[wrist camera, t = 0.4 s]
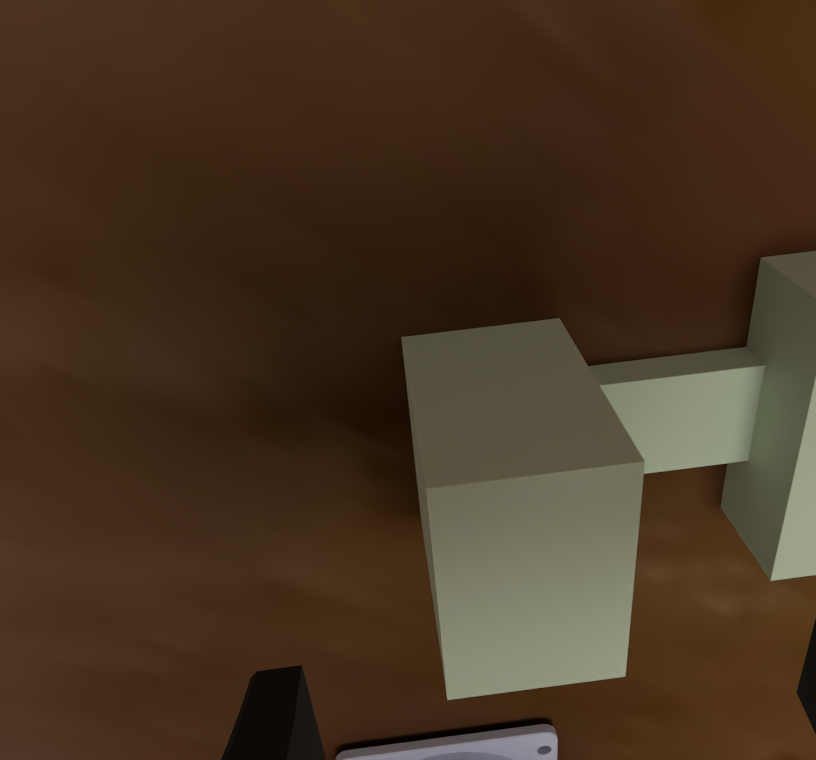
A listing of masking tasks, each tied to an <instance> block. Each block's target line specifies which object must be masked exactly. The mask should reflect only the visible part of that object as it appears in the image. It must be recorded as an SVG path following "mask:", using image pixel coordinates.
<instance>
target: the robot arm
mask: <svg viewBox="0 0 816 760" xmlns="http://www.w3.org/2000/svg"><path fill="white" fill-rule="evenodd" d="M797 694H798V696H799V698H800V701H801V703H802V705H803V707H804V709H805V711H806V714H807V716H808V718H809V720H810V722H811V725H812V727H813V729H814V731H815V733H816V620H815V624H814V628H813V631H812V635H811V639H810V643H809V647H808V651H807V655H806V658H805V662H804V666H803V670H802V674H801V678H800V682H799V685H798V689H797ZM557 749H558V738H557V735H556V731H555V728H554V727H553V726H551V725H548V724H538V725H531V726H523V727H516V728H508V729H501V730H493V731H486V732H478V733H471V734H463V735H456V736H448V737H441V738H433V739H426V740H418V741H411V742H403V743H396V744H388V745H381V746H373V747H366V748H358V749H351V750H345V751H342V752H341V753H339V754H338V755H337V756H336V760H557ZM221 760H325V754H324V751H323V747H322V743H321V739H320V735H319V731H318V727H317V723H316V719H315V715H314V711H313V707H312V703H311V699H310V695H309V691H308V687H307V684H306V680H305V676H304V672H303V668H302V665H301V666H293V667H286V668H279V669H271V670H264V671H257V672H256V673H255V674H254V675H253V676H252V677H251V679H250V682H249V685H248V688H247V691H246V694H245V698H244V700H243V703H242V706H241V709H240V712H239V715H238V718H237V720H236V723H235V726H234V728H233V731H232V734H231V736H230V739H229V742H228V744H227V747H226V749H225V752H224V754H223V757H222V759H221Z"/></svg>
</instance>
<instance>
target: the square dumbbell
mask: <svg viewBox="0 0 816 760" xmlns="http://www.w3.org/2000/svg"><path fill="white" fill-rule="evenodd" d="M401 340H402V349H403V358H404V367H405V376H406V385H407V395H408V404H409V413H410V422H411V431H412V441H413V450H414V459H415V468H416V477H417V486H418V496H419V505H420V514H421V522H422V529H423V536H424V543H425V550H426V556H427V563H428V570H429V577H430V584H431V591H432V598H433V605H434V611H435V618H436V625H437V632H438V639H439V646H440V653H441V659H442V666H443V673H444V680H445V687H446V694H447V700H451V699H459V698H467V697H474V696H482V695H489V694H497V693H504V692H512V691H520V690H527V689H535V688H542V687H550V686H557V685H565V684H573V683H580V682H588V681H595V680H603V679H610V678H618V677H625V676H626V665H627V653H628V642H629V631H630V620H631V609H632V598H633V587H634V576H635V565H636V554H637V543H638V532H639V521H640V510H641V499H642V488H643V477H644V474H646V473H654V472H662V471H670V470H678V469H686V468H694V467H702V466H710V465H718V464H726V463H727V469H726V475H725V482H724V488H723V494H722V500H721V506H720V507H721V509H722V510H723V512H724V513H725V515H726V516H727V518H728V519H729V521H730V522H731V523H732V525H733V526H734V528H735V529H736V531H737V532H738V534H739V535H740V537H741V538H742V540H743V541H744V542H745V544H746V545H747V547H748V548H749V550H750V551H751V553H752V554H753V556H754V557H755V559H756V560H757V562H758V563H759V564H760V566H761V567H762V569H763V570H764V572H765V573H766V575H767V576H768V578H769V579H770V581H772V580H780V579H787V578H795V577H803V576H811V575H816V251H811V252H803V253H794V254H786V255H778V256H769V257H761V260H760V266H759V272H758V278H757V284H756V291H755V297H754V303H753V309H752V315H751V321H750V327H749V334H748V340H747V346H746V347H740V348H732V349H724V350H716V351H708V352H699V353H691V354H683V355H675V356H667V357H658V358H650V359H642V360H634V361H625V362H617V363H609V364H601V365H593V366H588V365H587V364H586V362H585V360H584V359H583V357H582V355H581V354H580V352H579V350H578V348H577V347H576V345H575V343H574V342H573V340H572V338H571V337H570V335H569V333H568V332H567V330H566V328H565V327H564V325H563V323H562V322H561V320H560V318H556V319H548V320H540V321H531V322H523V323H515V324H507V325H498V326H490V327H482V328H473V329H465V330H457V331H448V332H440V333H432V334H423V335H415V336H407V337H401Z"/></svg>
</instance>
